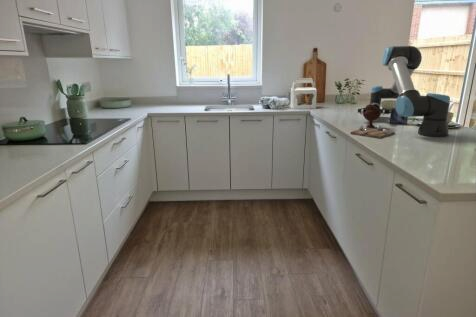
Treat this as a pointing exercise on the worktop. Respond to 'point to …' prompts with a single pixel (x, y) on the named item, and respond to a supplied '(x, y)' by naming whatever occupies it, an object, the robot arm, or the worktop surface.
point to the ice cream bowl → (371, 114)
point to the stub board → (372, 132)
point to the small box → (397, 117)
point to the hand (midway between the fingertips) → (372, 113)
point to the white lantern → (303, 90)
